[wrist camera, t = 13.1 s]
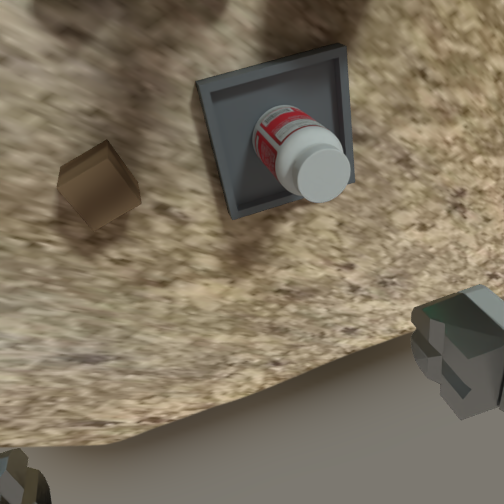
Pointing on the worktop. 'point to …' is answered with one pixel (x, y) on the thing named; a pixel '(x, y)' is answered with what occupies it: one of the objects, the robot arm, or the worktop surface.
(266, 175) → the tray
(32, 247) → the worktop surface
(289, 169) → the pill bottle
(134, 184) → the walnut cube
